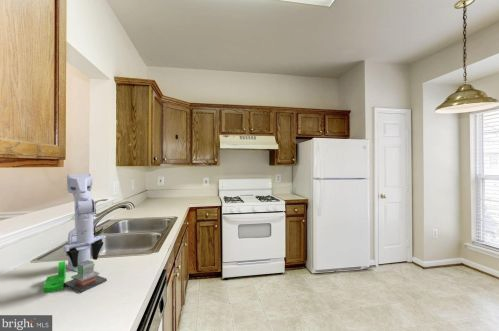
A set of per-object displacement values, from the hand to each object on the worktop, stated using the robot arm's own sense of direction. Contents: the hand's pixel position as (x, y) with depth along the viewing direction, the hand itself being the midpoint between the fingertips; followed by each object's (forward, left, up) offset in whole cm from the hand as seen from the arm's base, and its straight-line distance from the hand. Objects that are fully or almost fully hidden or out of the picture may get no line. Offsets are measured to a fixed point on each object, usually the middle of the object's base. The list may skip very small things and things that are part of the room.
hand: (85, 262), depth 97 cm
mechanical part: (-10, -6, -9) cm, 15 cm away
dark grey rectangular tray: (0, 0, -9) cm, 9 cm away
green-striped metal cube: (0, 0, -5) cm, 5 cm away
